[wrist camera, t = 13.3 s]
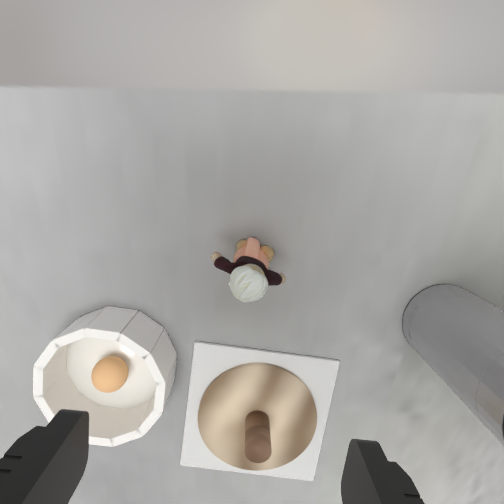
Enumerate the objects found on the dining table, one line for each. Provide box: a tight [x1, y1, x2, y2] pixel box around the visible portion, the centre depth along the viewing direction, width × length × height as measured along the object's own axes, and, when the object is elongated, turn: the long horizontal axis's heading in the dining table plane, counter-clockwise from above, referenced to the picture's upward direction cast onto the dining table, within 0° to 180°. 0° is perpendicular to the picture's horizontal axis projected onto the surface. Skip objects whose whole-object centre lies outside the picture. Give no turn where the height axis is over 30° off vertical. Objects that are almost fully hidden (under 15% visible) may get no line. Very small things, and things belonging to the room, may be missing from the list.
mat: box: [180, 341, 340, 481], centre depth 45 cm, size 18×18×1 cm
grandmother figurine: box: [211, 237, 286, 302], centre depth 34 cm, size 8×4×13 cm, turn 82°
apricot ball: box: [91, 356, 128, 393], centre depth 40 cm, size 4×4×4 cm
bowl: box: [33, 306, 177, 447], centre depth 40 cm, size 14×14×6 cm
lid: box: [198, 363, 317, 471], centre depth 42 cm, size 15×15×6 cm
